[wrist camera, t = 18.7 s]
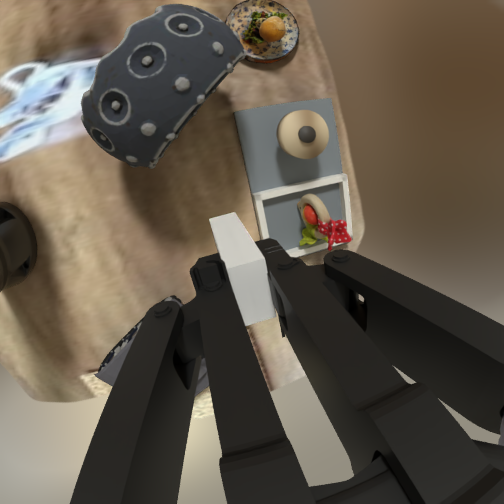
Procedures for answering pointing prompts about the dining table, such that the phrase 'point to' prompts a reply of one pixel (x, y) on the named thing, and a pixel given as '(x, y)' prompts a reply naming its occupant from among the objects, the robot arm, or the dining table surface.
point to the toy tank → (119, 352)
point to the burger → (264, 29)
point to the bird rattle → (320, 223)
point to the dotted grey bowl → (157, 81)
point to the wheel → (302, 134)
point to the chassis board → (291, 175)
